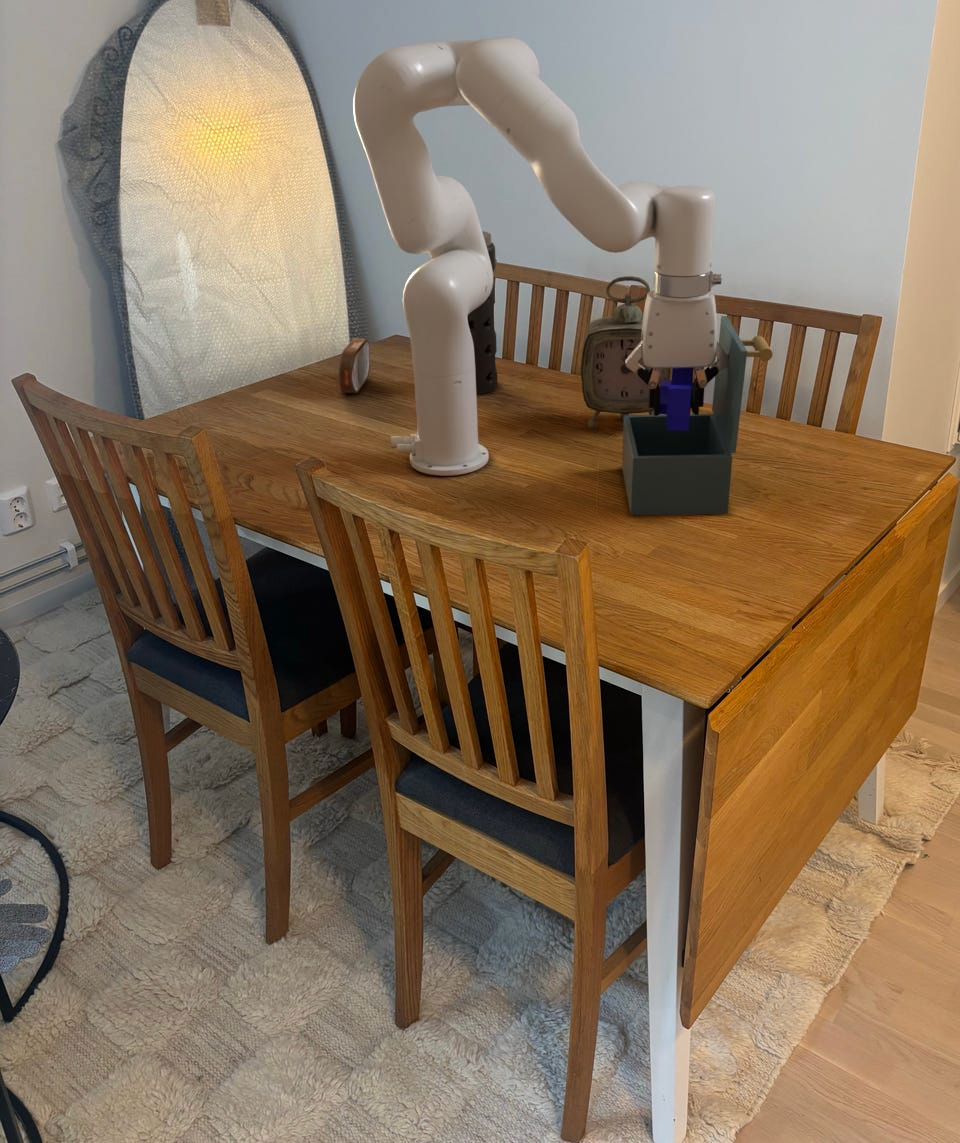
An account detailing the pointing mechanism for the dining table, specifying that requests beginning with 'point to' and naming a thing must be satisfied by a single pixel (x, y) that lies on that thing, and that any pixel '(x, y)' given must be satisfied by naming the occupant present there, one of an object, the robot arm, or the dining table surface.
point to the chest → (675, 466)
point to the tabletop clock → (615, 360)
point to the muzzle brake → (485, 334)
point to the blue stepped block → (677, 399)
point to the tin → (354, 365)
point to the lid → (733, 380)
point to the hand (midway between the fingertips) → (675, 410)
